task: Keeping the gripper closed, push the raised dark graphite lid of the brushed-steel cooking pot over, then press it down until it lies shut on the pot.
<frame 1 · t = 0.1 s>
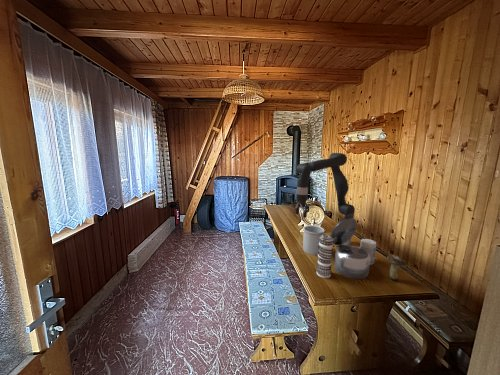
hand: (300, 215, 152), 29 cm above the table, fingers open, 8 cm apart
supplement tub: (366, 261, 149), on the table
mushroom: (392, 280, 128), on the table
utensil holder: (312, 250, 163), on the table
decorative candle: (323, 274, 134), on the table
cooker pot: (350, 269, 139), on the table
cooker lid: (343, 229, 142), point 24 cm above the table, hinge at 75.0°
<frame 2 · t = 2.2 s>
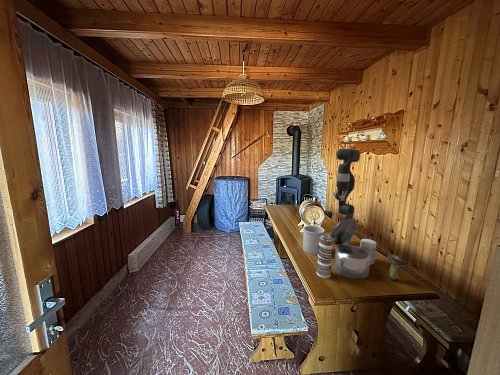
hand: (340, 205, 143), 39 cm above the table, fingers closed
nothing on the table moved.
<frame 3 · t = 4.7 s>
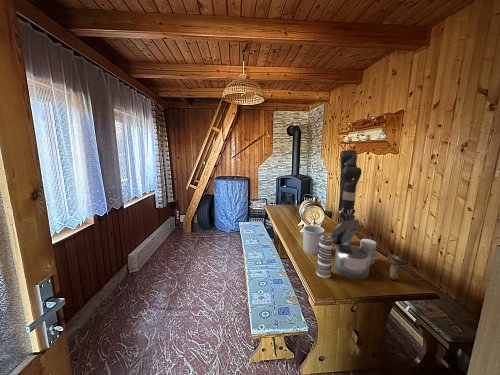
hand: (345, 224, 140), 28 cm above the table, fingers closed
cooker lid: (344, 229, 142), point 24 cm above the table, hinge at 71.5°, touching gripper
everything else where it was.
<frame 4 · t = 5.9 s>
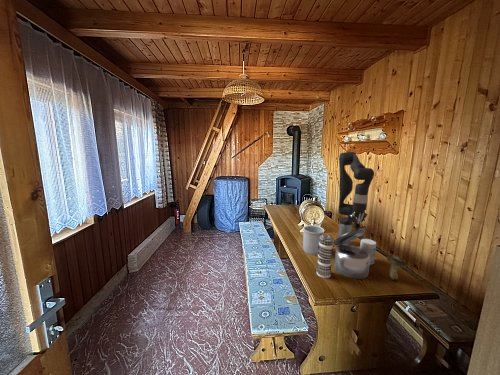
hand: (356, 228, 132), 28 cm above the table, fingers closed
cooker lid: (349, 234, 138), point 22 cm above the table, hinge at 48.1°, touching gripper
everything else where it was.
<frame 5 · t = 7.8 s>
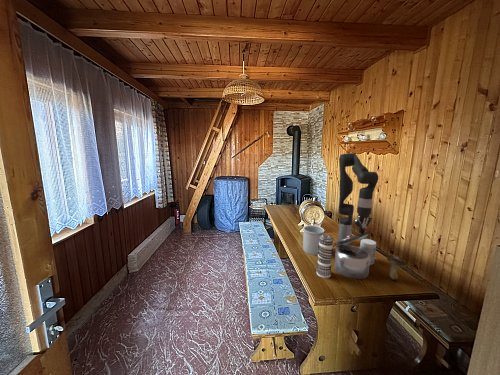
hand: (361, 233, 130), 26 cm above the table, fingers closed
cooker lid: (351, 237, 137), point 21 cm above the table, hinge at 38.4°, touching gripper
everything else where it was.
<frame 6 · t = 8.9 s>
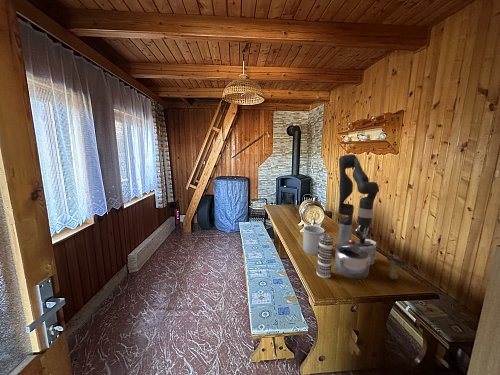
hand: (362, 243, 130), 20 cm above the table, fingers closed
cooker lid: (353, 242, 136), point 18 cm above the table, hinge at 22.2°
everything else where it was.
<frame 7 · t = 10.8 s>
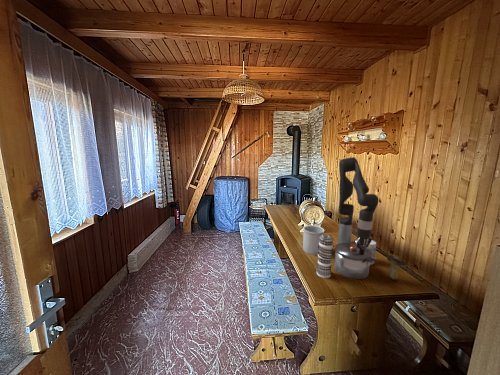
hand: (361, 254, 131), 14 cm above the table, fingers closed
cooker lid: (354, 250, 135), point 14 cm above the table, hinge at 0.3°, touching gripper
everything else where it was.
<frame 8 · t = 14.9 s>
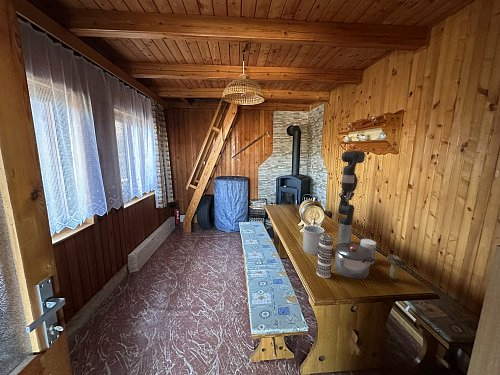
hand: (345, 206, 149), 37 cm above the table, fingers closed
cooker lid: (354, 250, 135), point 14 cm above the table, hinge at 0.2°
everything else where it was.
at the end: cooker lid at +0° (first picture: +75°) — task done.
